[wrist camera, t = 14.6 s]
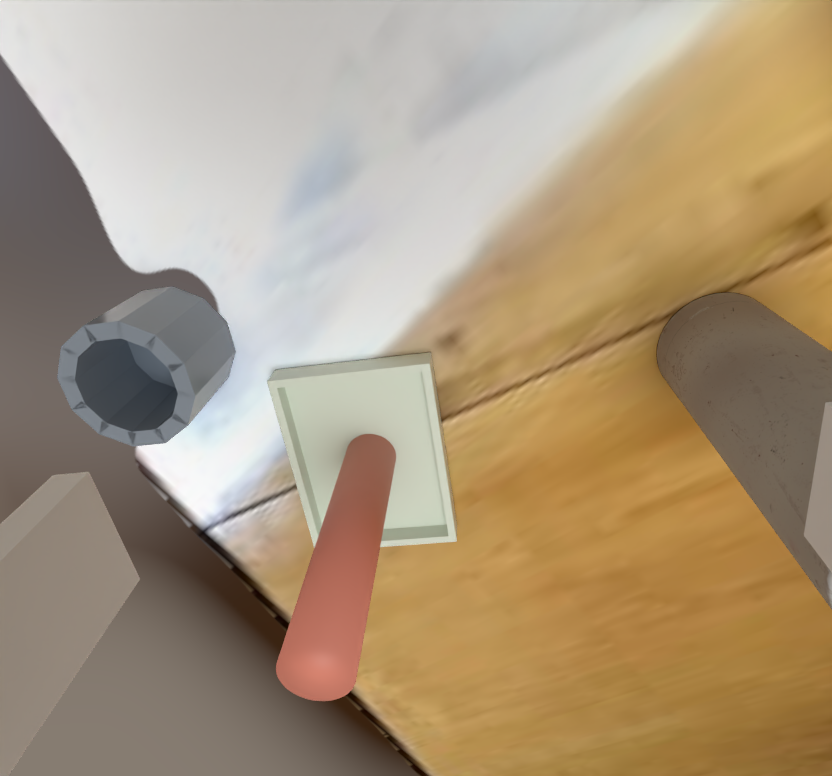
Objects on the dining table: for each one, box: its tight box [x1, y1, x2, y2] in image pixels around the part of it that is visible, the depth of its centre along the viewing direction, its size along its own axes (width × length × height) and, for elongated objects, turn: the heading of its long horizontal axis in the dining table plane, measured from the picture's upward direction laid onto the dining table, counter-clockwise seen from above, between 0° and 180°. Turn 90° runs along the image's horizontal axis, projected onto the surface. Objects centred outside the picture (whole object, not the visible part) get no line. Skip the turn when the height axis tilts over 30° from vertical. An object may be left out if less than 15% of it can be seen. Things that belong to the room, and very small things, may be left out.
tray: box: [267, 352, 457, 548], centre depth 47 cm, size 16×12×2 cm
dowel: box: [276, 434, 396, 701], centre depth 38 cm, size 4×4×20 cm
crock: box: [57, 286, 236, 446], centre depth 41 cm, size 9×9×8 cm
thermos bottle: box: [657, 293, 832, 609], centre depth 29 cm, size 8×8×28 cm
